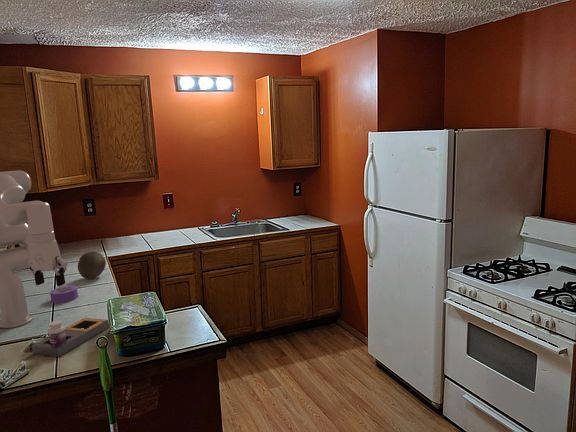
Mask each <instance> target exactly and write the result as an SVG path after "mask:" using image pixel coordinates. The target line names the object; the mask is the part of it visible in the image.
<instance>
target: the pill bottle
mask: <svg viewBox="0 0 576 432" xmlns="http://www.w3.org/2000/svg"><path fill="white" fill-rule="evenodd" d="M48 327H49V329H48V330H47V332H48V333H47V334H48V337H49V340H50V344H53V345H59V344H60V343H62V342H64V341H66V334H65V328H66V327H65V326H63V323H62V320H54V321H51V322H50V323H49V324H48Z"/></svg>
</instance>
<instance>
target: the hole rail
mask: <svg viewBox="0 0 576 432" xmlns="http://www.w3.org/2000/svg"><path fill="white" fill-rule="evenodd" d="M108 321H109V319H103V318H101V319H100V318H90V317H88V318H87V317H84V318H81V319H79V320H77V321H76V322H73V323H71V324H69V325H68V326H66V327H64V328H65V334H66V338H67V339H68V340H66V341H64V342H62V343H60V344H59V345H53V344H50V340H49V336H48V337H46V338H44V339H41V340H40V341H38V342H36V343H34V344H31V350H32V354H33V355H38V356H39V355H40V356H48V357H57V358H60V357H61V356H63V355H65V354H66V353H68V352H70V351H71V350H73V349H74V348H76V347H78V346H79V345H81V344H83V343H84V342H86V341H89V340H90V339H92V338H93V337H95V336H97V335H99V334H100V333H102V332H104V331H105V330H107V329H108V327H109V328H110V324H108ZM85 327H89V328H85ZM81 328H85V329H81Z"/></svg>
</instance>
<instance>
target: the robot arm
mask: <svg viewBox="0 0 576 432" xmlns="http://www.w3.org/2000/svg"><path fill="white" fill-rule="evenodd" d="M31 179H32V178H31V177H30V175H29V174H28V173H27V172H26V171H24V170H20V169H19V170H8V171H0V248H4V247H8V246H13V245H19V246H18V247H12V248H7V249H3V250H0V319H1V320H0V328H1V329H13V328H16V327H20V326H24V325H27V324H28V323H30V322H31V321H33V320H34V316H33V315H32V314H29V311H28V304H27V300H26V294H25V288H24V283H23V279H21V277H20V276H19V275H17V274H15V273H14V272H16V271H20V270H25V269H28V268H29V269H30V271H31V273H32V275H33V276H34V281H35V285H36V286H40V285H42V284H44V283H45V277H44V272H51V271H53V273H55V283H56V286H57V287H62V286H64V285H66V279H65V273H66V271H67V267H68V262H67V260H65V259H63V258H62V256H61V250H60V247H59V245H58V241H57V240H56V235H55V231H54V224H53V219H52V218H53V217H52V211H51V207H50V204H49V203H48V202H45V201H41V200H31V201H24V200H25V197H26V194H27V193H28V192H29V191H30V189H31V188H32V180H31Z"/></svg>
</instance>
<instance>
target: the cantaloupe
mask: <svg viewBox="0 0 576 432" xmlns="http://www.w3.org/2000/svg"><path fill="white" fill-rule="evenodd" d="M106 265H107V260H106V258H105V257H104V255H102V254H101V253H99V252H98V251H87V252H85V253H83V254H82V255H81V256H80V257H79V260H78V262H77V271H78V273H79V275H80V276H81V277H83V279H86V280H94V279H96V278H97V277H100V275H102V273H103V272H104V270H105V268H106Z"/></svg>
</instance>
